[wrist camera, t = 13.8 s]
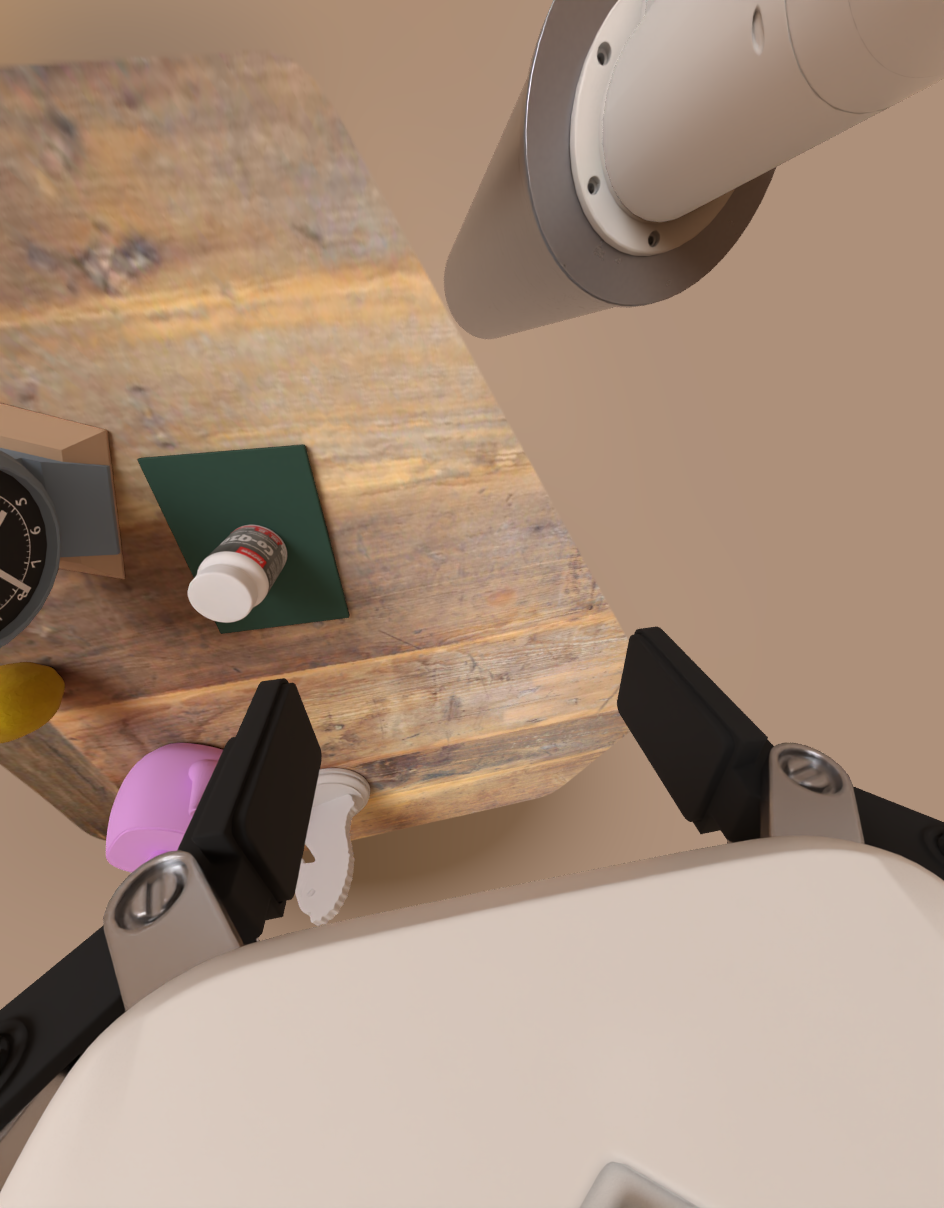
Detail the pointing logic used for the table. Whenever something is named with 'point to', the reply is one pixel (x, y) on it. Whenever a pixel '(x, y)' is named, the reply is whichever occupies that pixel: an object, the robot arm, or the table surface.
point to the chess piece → (330, 843)
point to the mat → (254, 497)
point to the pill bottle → (238, 574)
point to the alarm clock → (52, 510)
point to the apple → (27, 698)
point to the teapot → (158, 803)
